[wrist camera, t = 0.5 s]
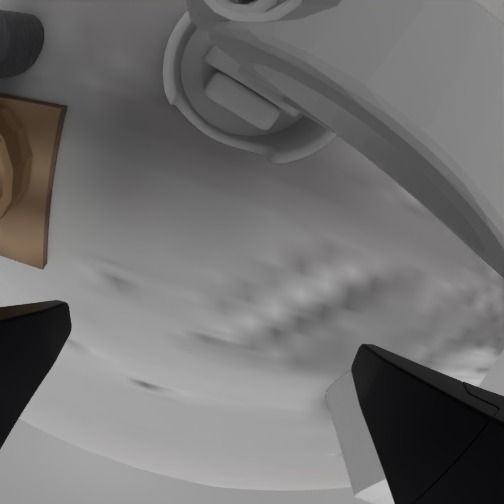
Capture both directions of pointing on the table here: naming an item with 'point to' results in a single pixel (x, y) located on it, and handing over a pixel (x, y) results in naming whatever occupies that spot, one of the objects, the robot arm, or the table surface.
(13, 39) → the pipe fitting
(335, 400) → the bottle
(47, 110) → the duct plate
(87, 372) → the table surface
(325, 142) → the engine component
